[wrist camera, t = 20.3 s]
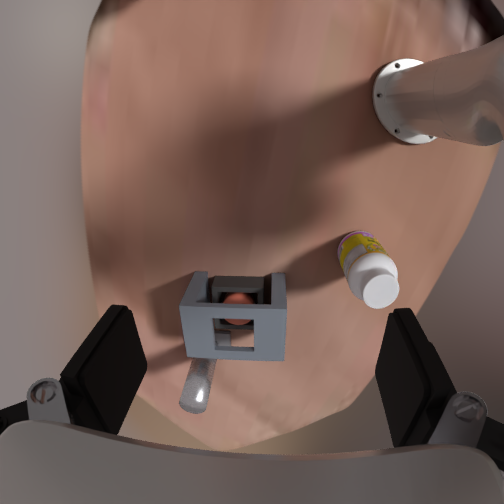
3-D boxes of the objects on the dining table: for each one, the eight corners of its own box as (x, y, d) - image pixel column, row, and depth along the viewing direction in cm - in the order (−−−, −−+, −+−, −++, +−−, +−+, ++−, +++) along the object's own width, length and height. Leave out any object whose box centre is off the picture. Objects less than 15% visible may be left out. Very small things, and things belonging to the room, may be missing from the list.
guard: (284, 273, 49) (286, 309, 40) (283, 320, 53) (284, 361, 44) (195, 271, 50) (178, 305, 41) (200, 318, 54) (187, 356, 45)
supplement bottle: (385, 252, 47) (415, 294, 35) (352, 277, 49) (372, 325, 37) (362, 220, 45) (390, 256, 34) (327, 247, 47) (343, 291, 36)
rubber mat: (230, 331, 55) (229, 334, 54) (231, 356, 57) (231, 359, 56) (185, 329, 55) (184, 331, 54) (189, 354, 57) (188, 356, 57)
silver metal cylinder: (218, 338, 54) (204, 398, 42) (220, 355, 56) (207, 414, 43) (196, 337, 55) (177, 395, 42) (198, 353, 56) (181, 412, 43)
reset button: (254, 288, 49) (253, 298, 47) (254, 314, 51) (253, 325, 49) (223, 287, 50) (220, 298, 47) (225, 313, 52) (222, 324, 49)
